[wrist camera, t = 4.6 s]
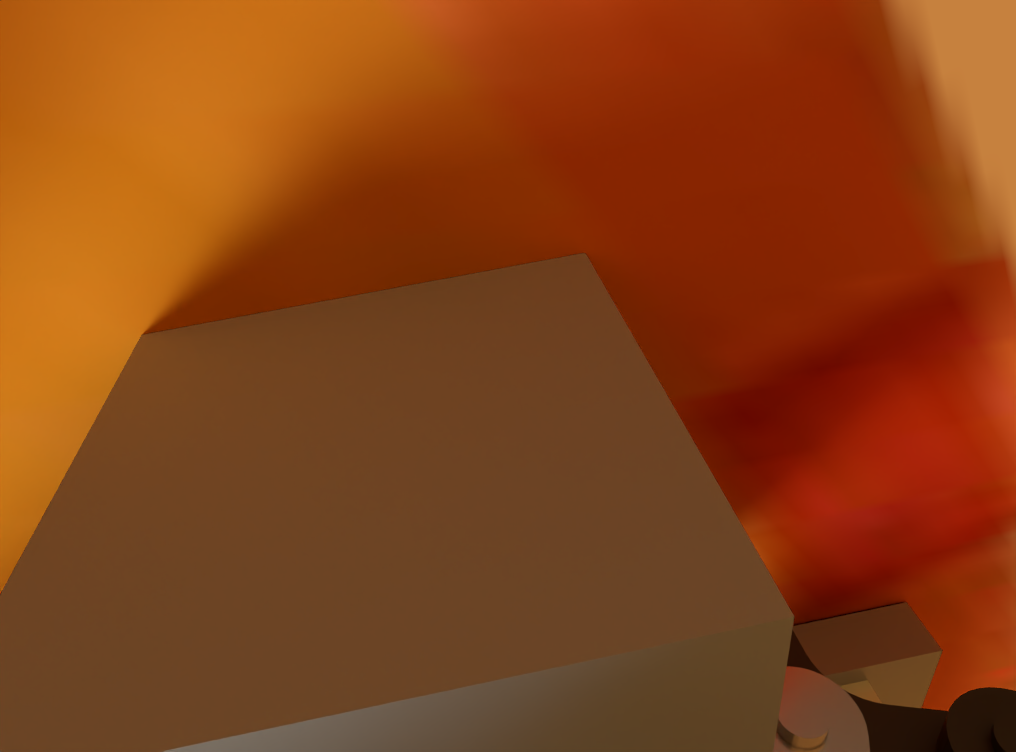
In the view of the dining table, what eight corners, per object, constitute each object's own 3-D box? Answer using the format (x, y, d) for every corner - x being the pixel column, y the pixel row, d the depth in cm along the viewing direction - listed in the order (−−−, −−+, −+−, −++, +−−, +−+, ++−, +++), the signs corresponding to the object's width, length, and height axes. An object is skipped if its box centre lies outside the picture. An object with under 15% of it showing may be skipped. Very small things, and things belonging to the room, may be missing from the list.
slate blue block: (313, 680, 14) (276, 1106, 9) (141, 334, 9) (-117, 812, 5) (612, 617, 14) (734, 997, 9) (585, 252, 10) (793, 616, 5)
